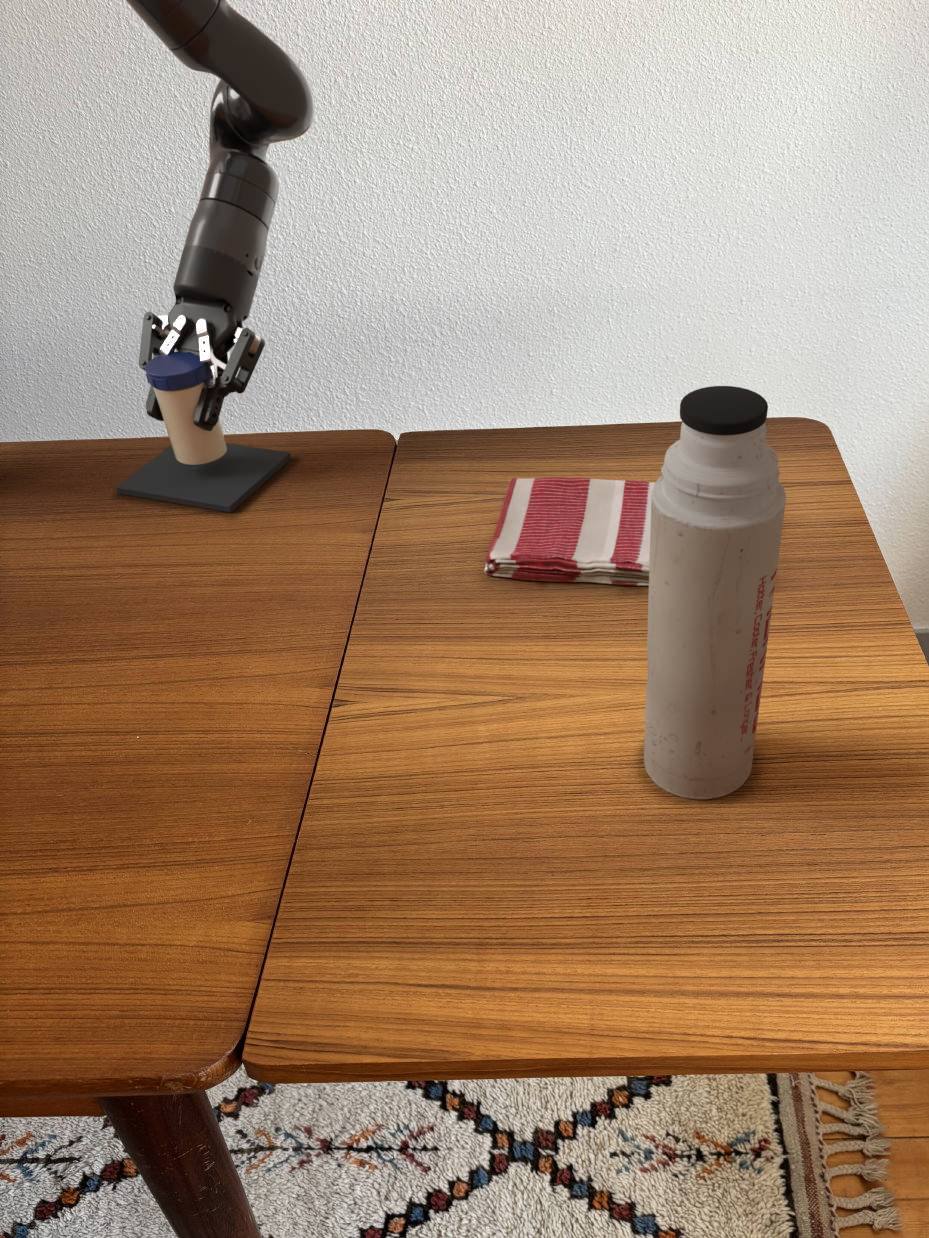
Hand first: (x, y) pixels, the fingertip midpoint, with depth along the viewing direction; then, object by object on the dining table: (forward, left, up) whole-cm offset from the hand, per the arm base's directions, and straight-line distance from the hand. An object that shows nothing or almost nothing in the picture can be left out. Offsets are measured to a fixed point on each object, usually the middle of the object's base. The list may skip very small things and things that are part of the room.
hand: (179, 422), depth 107 cm
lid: (0, +2, +5) cm, 5 cm away
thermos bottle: (+61, -25, -7) cm, 67 cm away
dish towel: (+46, +3, -7) cm, 47 cm away
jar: (0, +2, -4) cm, 5 cm away
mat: (0, +2, -7) cm, 7 cm away
